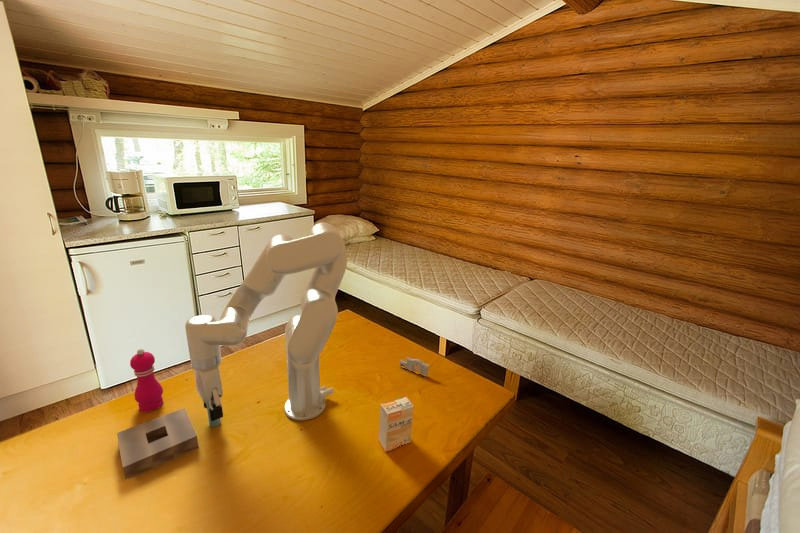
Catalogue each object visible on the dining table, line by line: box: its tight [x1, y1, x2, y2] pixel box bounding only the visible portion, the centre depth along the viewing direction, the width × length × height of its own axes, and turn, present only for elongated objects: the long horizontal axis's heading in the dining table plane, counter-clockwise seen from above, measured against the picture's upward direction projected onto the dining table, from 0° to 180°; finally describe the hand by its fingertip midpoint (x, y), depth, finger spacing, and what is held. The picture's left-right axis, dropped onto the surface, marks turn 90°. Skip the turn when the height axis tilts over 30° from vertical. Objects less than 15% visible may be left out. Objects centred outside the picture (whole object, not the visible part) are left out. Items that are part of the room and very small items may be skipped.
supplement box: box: [378, 396, 414, 453], centre depth 100 cm, size 8×5×13 cm, turn 117°
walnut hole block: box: [116, 407, 200, 481], centre depth 96 cm, size 16×14×4 cm
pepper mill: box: [129, 348, 164, 413], centre depth 108 cm, size 7×7×20 cm
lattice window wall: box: [399, 356, 431, 377], centre depth 134 cm, size 12×2×6 cm, turn 59°
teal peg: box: [206, 396, 222, 428], centre depth 104 cm, size 3×3×11 cm
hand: (213, 411), depth 104 cm, fingers open, 6 cm apart
